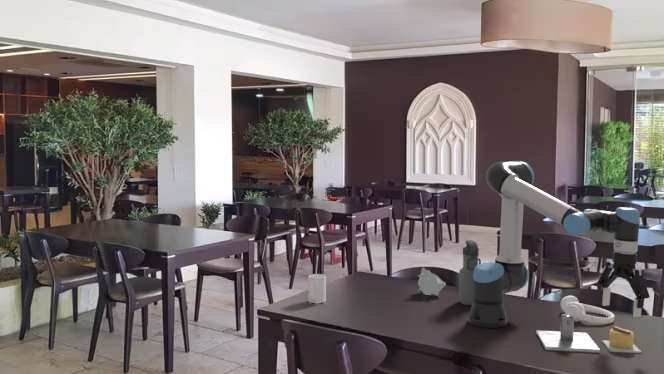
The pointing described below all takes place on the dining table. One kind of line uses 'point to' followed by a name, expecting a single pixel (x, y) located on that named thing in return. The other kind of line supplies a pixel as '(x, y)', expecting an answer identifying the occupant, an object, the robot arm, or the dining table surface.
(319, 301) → the pale gray rounded block
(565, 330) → the post fixture
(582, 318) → the headphones
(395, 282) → the dining table surface
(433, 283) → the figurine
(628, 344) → the cap
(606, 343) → the mat
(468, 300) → the water bottle
